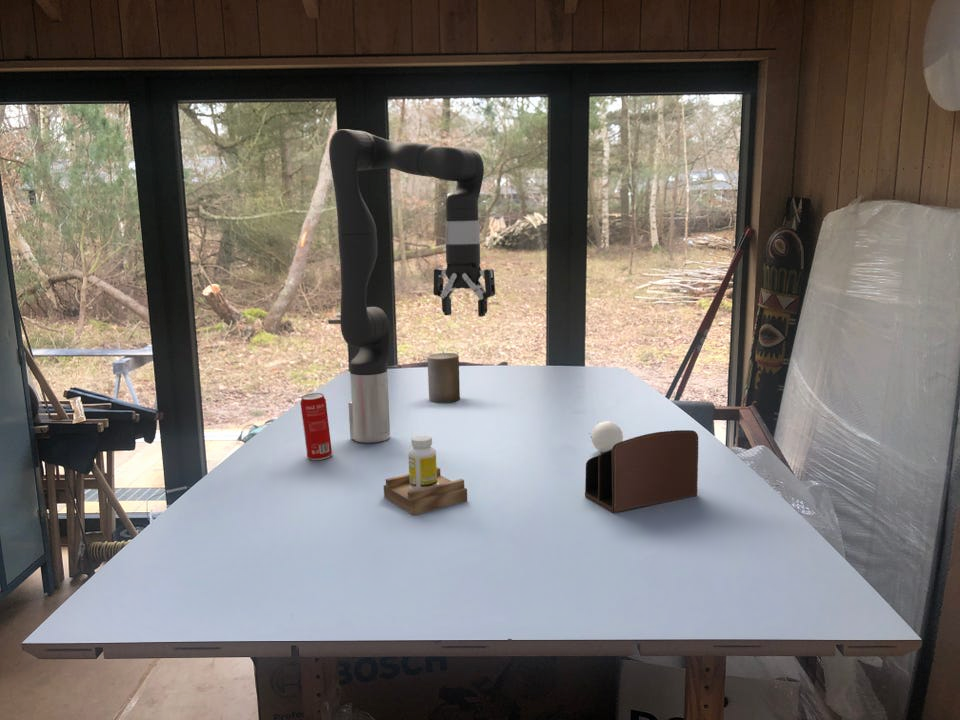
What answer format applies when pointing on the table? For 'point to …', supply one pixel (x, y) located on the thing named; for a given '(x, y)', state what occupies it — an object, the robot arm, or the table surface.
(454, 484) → the display plinth
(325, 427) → the beverage can
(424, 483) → the supplement bottle
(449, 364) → the pillar candle
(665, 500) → the letter holder
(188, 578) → the table surface
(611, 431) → the white egg shape
